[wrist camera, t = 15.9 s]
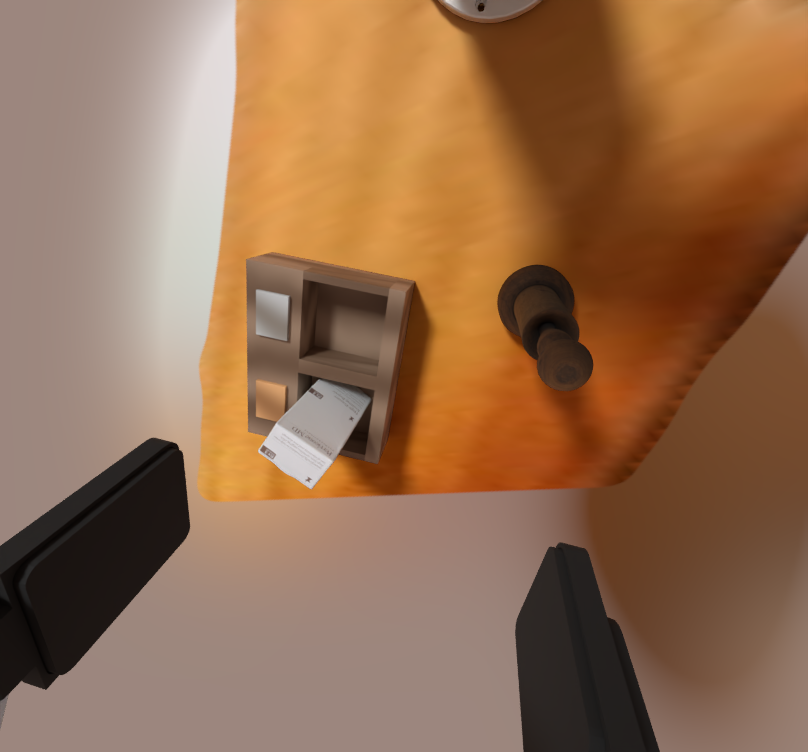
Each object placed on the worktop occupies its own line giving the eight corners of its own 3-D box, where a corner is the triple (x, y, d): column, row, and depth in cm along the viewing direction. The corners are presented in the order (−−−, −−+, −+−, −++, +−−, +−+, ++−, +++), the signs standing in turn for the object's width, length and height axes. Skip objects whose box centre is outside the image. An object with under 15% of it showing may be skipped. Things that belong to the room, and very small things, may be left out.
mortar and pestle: (516, 343, 40) (537, 441, 24) (485, 287, 39) (486, 353, 22) (581, 311, 38) (653, 396, 22) (551, 250, 36) (605, 293, 20)
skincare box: (373, 397, 45) (338, 462, 34) (353, 423, 47) (313, 493, 36) (328, 365, 44) (277, 420, 33) (309, 393, 46) (255, 454, 35)
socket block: (272, 252, 41) (243, 259, 36) (414, 281, 40) (405, 292, 35) (269, 410, 49) (246, 433, 44) (387, 439, 48) (376, 466, 43)
